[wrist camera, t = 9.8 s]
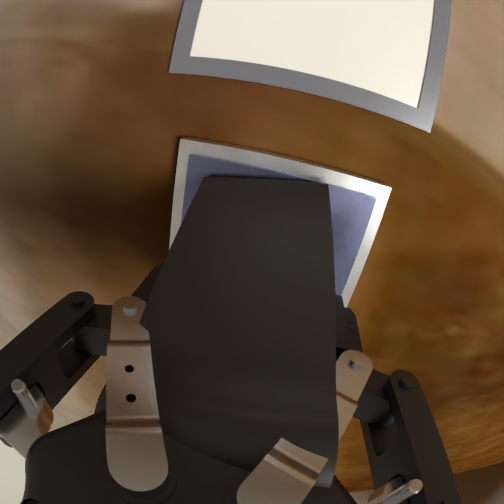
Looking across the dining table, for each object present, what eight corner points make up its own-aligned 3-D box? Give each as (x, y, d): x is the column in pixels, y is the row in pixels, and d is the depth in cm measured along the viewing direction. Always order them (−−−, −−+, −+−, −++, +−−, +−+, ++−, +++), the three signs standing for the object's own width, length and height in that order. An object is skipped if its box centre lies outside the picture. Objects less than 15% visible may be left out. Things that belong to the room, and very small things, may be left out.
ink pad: (171, 300, 20) (165, 311, 19) (186, 136, 15) (178, 139, 14) (327, 337, 20) (327, 350, 19) (386, 183, 15) (393, 189, 14)
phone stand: (206, 174, 15) (25, 333, 4) (328, 182, 14) (394, 398, 3) (212, 319, 19) (142, 497, 8) (308, 329, 18) (298, 526, 7)
